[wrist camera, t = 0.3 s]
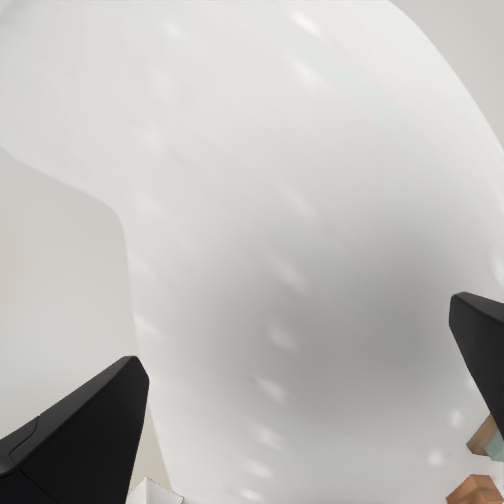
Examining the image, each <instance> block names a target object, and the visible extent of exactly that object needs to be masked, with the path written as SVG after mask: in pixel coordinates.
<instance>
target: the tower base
mask: <svg viewBox="0 0 504 504" xmlns="http://www.w3.org/2000/svg"><path fill="white" fill-rule="evenodd" d="M497 430H498V427H497V425H496V423H495V421H494V419H493V417H492V414H490V415H489V416H488V418H487V419H486V420H485V422H484V423H483V424H482V425H481V427H480V428H479V429H478V431H477V432H476V433H475V434H474V436H473V437H472V438H471V439H470V440H469V442H468V443H467V444H466V445H467V446H468V448H469V449H470V451H471V452H472V454H476V455H483V456H489V455H488V454H487V452H486V451H485V450H484V446H485V445H486V444H487V443H488V442H489V440H490V439H491V438H492V437H493V435H494V434H495V433H496V431H497Z"/></svg>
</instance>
